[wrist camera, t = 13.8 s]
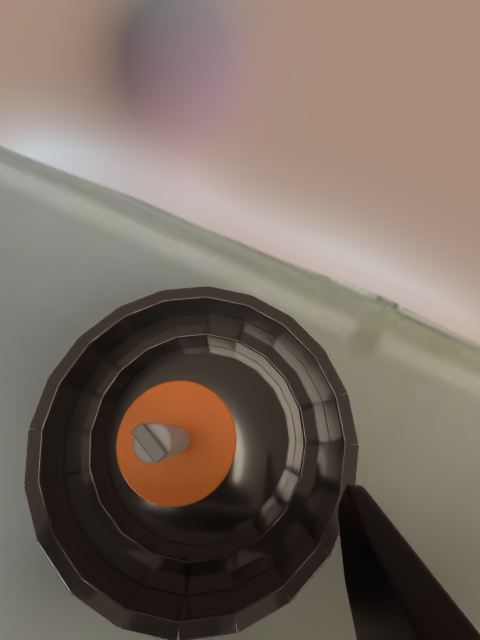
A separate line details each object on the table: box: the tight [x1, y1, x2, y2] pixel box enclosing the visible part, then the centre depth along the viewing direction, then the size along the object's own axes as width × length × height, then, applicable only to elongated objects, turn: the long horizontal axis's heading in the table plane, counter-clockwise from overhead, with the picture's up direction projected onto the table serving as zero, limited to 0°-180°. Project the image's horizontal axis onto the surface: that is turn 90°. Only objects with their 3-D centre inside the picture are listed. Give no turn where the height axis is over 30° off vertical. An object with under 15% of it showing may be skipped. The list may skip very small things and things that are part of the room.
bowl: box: [25, 287, 358, 640], centre depth 16 cm, size 13×13×4 cm
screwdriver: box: [116, 380, 237, 507], centre depth 12 cm, size 3×3×12 cm
